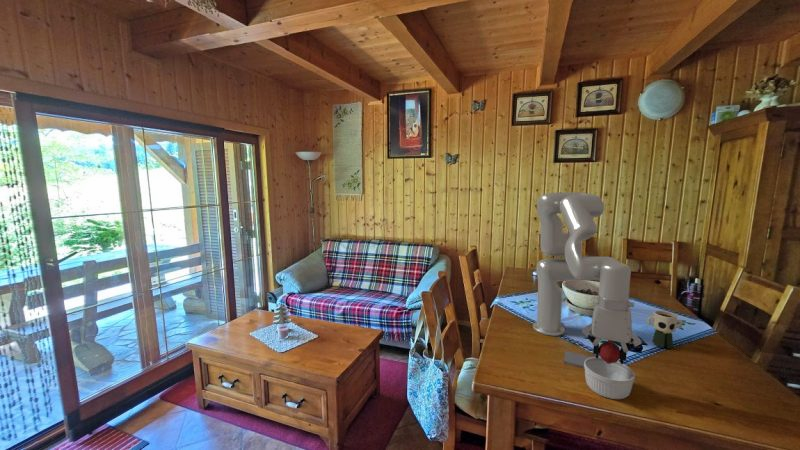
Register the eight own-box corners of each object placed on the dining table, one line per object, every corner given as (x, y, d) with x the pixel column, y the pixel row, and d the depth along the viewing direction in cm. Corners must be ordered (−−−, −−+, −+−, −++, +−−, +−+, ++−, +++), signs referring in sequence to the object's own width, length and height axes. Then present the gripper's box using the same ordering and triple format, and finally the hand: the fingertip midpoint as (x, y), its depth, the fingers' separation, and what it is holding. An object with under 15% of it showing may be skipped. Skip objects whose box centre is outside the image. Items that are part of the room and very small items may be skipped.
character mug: (648, 347, 125) (651, 315, 123) (642, 339, 131) (645, 308, 129) (683, 352, 120) (687, 319, 119) (676, 343, 127) (679, 312, 125)
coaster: (565, 352, 122) (565, 350, 122) (589, 358, 118) (590, 356, 118) (563, 363, 115) (563, 361, 115) (589, 369, 111) (589, 367, 111)
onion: (623, 369, 97) (625, 344, 95) (602, 367, 98) (604, 343, 97) (614, 359, 102) (616, 335, 101) (594, 357, 103) (596, 334, 102)
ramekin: (628, 382, 104) (630, 361, 103) (638, 407, 92) (640, 385, 91) (581, 372, 110) (582, 353, 109) (584, 395, 98) (586, 374, 97)
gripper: (646, 304, 96) (642, 360, 99) (580, 294, 105) (577, 346, 107) (650, 313, 90) (645, 373, 92) (579, 302, 99) (576, 357, 101)
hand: (608, 358), depth 100 cm, fingers closed on onion, 5 cm apart
